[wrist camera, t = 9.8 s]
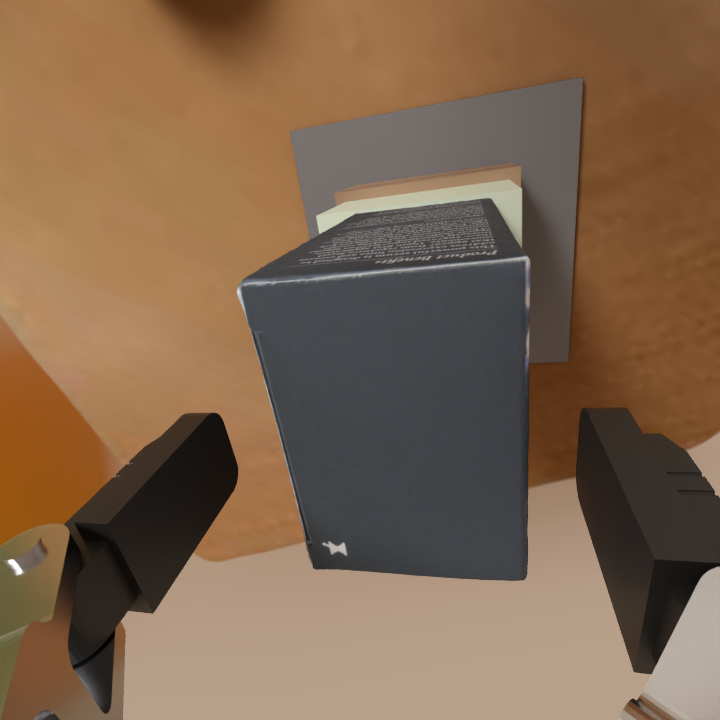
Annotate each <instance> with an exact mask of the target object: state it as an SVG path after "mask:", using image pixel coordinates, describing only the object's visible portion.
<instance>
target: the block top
mask: <svg viewBox="0 0 720 720" xmlns="http://www.w3.org/2000/svg"><path fill="white" fill-rule="evenodd" d="M483 198H491V199H492V200H493V202H494V204H495V205H496V207H497V208H498V209H499V211H500V213H501V215H502V217H503V218H504V220H505V222H506V223H507V225H508V227H509V229H510V231H511V232H512V234H513V235H514V237H515V239H516V240H517V242H518V243H519V244H520V246H521V248H522V188H520V187H519V186H518V185H516V184H515V183H514V182H512V181H511V180H503V181H496V182H488V183H481V184H474V185H466V186H459V187H452V188H445V189H437V190H430V191H423V192H415V193H408V194H401V195H393V196H386V197H379V198H372V199H364V200H357V201H350V202H344V203H342V204H340V205H338V206H336V207H334V208H332V209H330V210H327V211H325V212H323V213H321V214H319V215H317V216H316V218H317V224H318V230H319V234H321V233H322V232H325V231H326V230H328V229H330V228H332V227H333V226H336V225H337V224H339V223H341V222H342V221H344V220H345V219H347V218H349V217H351V216H352V215H354V214H356V213H358V214H359V213H366V212H376V211H384V210H393V209H401V208H411V207H419V206H426V205H435V204H444V203H450V202H459V201H468V200H476V199H483Z"/></svg>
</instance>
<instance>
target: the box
mask: <svg viewBox="0 0 720 720" xmlns="http://www.w3.org/2000/svg"><path fill="white" fill-rule="evenodd" d="M237 295H238V298H239V300H240V303H241V305H242V307H243V310H244V313H245V316H246V319H247V323H248V325H249V328H250V332H251V335H252V339H253V342H254V346H255V349H256V353H257V356H258V359H259V362H260V365H261V369H262V373H263V377H264V382H265V385H266V389H267V393H268V396H269V400H270V403H271V407H272V410H273V414H274V417H275V421H276V425H277V429H278V433H279V437H280V441H281V445H282V448H283V452H284V456H285V461H286V465H287V468H288V472H289V475H290V480H291V483H292V487H293V492H294V495H295V500H296V505H297V508H298V512H299V517H300V520H301V525H302V528H303V532H304V537H305V542H306V547H307V552H308V555H309V559H310V561H311V563H312V564H313V568H314V569H340V570H352V571H353V570H354V571H370V572H380V573H393V574H405V575H416V576H431V577H444V578H445V577H446V578H459V579H479V580H508V581H518V580H525V578H526V576H527V564H528V537H527V523H528V503H527V502H528V445H529V324H530V259H529V257H528V256H527V254H526V253H525V252H524V251H523V250H522V248H521V246H520V244H519V243H518V242H517V240H516V239H515V237H514V235H513V234H512V232H511V231H510V229H509V227H508V225H507V223H506V222H505V220H504V218H503V217H502V215H501V213H500V211H499V209H498V208H497V207H496V205H495V204H494V202H493V200H492V199H491V198H483V199H476V200H468V201H459V202H450V203H444V204H435V205H426V206H419V207H411V208H401V209H393V210H384V211H376V212H366V213H359V214H358V213H356V214H354V215H352V216H351V217H349V218H347V219H345V220H344V221H342V222H341V223H339V224H337V225H336V226H333V227H332V228H330V229H328V230H326V231H325V232H322V233H321V234H319V235H318V236H316V237H314V238H313V239H311V240H309V241H308V242H306V243H304V244H301V245H300V246H299V247H297V248H296V249H294V250H292V251H290V252H288V253H287V254H285V255H283V256H281V257H280V258H278V259H276V260H274V261H272V262H270V263H268V264H267V265H266V266H264V267H262V268H260V269H259V270H258V271H256V272H255V273H253V274H251V275H249V276H247V277H246V278H245V279H243V280H242V282H241V283H240V284H239V286H238V288H237Z"/></svg>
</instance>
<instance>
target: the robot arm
mask: <svg viewBox="0 0 720 720" xmlns="http://www.w3.org/2000/svg"><path fill="white" fill-rule="evenodd" d="M237 479H238V465H237V462H236V459H235V456H234V453H233V449H232V446H231V443H230V440H229V437H228V434H227V431H226V428H225V425H224V422H223V420H222V418H221V416H220V415H218V414H217V413H187V414H184V415H182V416H181V417H180V418H179V419H178V420H177V421H176V422H175V423H174V424H173V425H172V426H171V427H170V428H169V429H168V430H167V431H166V432H165V433H164V434H163V435H162V436H161V437H159V438H158V439H156V440H155V441H153V442H151V443H150V444H148V445H147V446H145V447H144V448H143V449H142V450H141V451H140V452H139V453H138V454H137V455H136V456H135V457H134V458H132V459H131V460H130V461H129V465H125V466H124V467H123V468H122V469H121V470H120V471H119V472H118V473H117V474H116V477H113V478H112V479H111V480H110V481H109V482H108V483H107V484H106V485H104V486H103V487H102V488H101V489H100V490H99V491H98V492H97V493H96V494H95V495H94V496H93V497H92V498H91V499H90V500H89V501H88V502H87V503H86V504H85V505H84V506H83V507H82V508H81V509H80V510H79V511H77V513H75V514H74V515H73V516H72V517H71V518H70V519H69V520H68V521H67V522H66V523H65V524H64V525H62V524H46V525H42V526H39V527H36V528H33V529H31V530H28V531H25V532H24V533H21V534H19V535H18V536H16V537H14V538H12V539H11V540H9V541H8V542H6V543H5V544H3V545H2V546H1V547H0V720H123V696H124V665H125V636H126V635H125V629H124V626H123V624H122V623H121V620H122V618H123V617H124V616H125V614H126V613H127V611H136V612H144V613H154V611H155V610H156V608H157V607H158V605H159V604H160V602H161V601H162V599H163V598H164V596H165V595H166V593H167V591H168V590H169V589H170V587H171V586H172V584H173V582H174V581H175V579H176V578H177V576H178V575H179V573H180V572H181V570H182V569H183V567H184V566H185V564H186V563H187V561H188V560H189V558H190V556H191V555H192V553H193V552H194V550H195V549H196V547H197V546H198V544H199V543H200V541H201V540H202V538H203V537H204V535H205V534H206V532H207V531H208V529H209V527H210V526H211V524H212V523H213V521H214V520H215V518H216V517H217V515H218V514H219V512H220V511H221V509H222V508H223V506H224V505H225V503H226V502H227V500H228V498H229V497H230V495H231V494H232V492H233V491H234V489H235V487H236V484H237ZM576 484H577V491H578V498H579V502H580V505H581V508H582V511H583V515H584V518H585V521H586V524H587V527H588V530H589V533H590V536H591V540H592V543H593V546H594V549H595V552H596V555H597V558H598V561H599V564H600V568H601V571H602V574H603V577H604V580H605V583H606V586H607V589H608V592H609V596H610V599H611V602H612V605H613V608H614V611H615V614H616V617H617V620H618V624H619V627H620V630H621V633H622V636H623V639H624V642H625V645H626V649H627V652H628V655H629V658H630V661H631V664H632V667H633V670H634V672H637V673H645V674H652V675H651V677H650V679H649V681H648V683H647V685H646V687H645V689H644V690H643V692H642V694H641V695H640V697H639V698H638V700H635V699H631V700H630V701H629V702H628V703H627V705H626V706H625V708H624V709H623V711H622V712H621V714H620V715H619V717H618V719H617V720H720V498H719V496H716V495H715V491H714V489H713V488H712V486H711V485H710V484H709V482H708V481H707V479H706V478H705V477H702V473H701V471H700V470H699V468H698V467H697V465H696V464H695V463H694V461H693V460H692V458H691V457H690V456H689V454H688V453H687V451H685V450H684V449H682V448H681V447H679V446H678V445H677V444H675V443H674V442H672V441H671V440H669V439H668V438H666V437H665V436H663V435H662V434H643V433H642V431H641V430H640V428H639V426H638V425H637V423H636V421H635V420H634V418H633V416H632V415H631V413H630V412H629V410H628V409H627V408H583V409H582V411H581V414H580V422H579V437H578V451H577V465H576Z"/></svg>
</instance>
